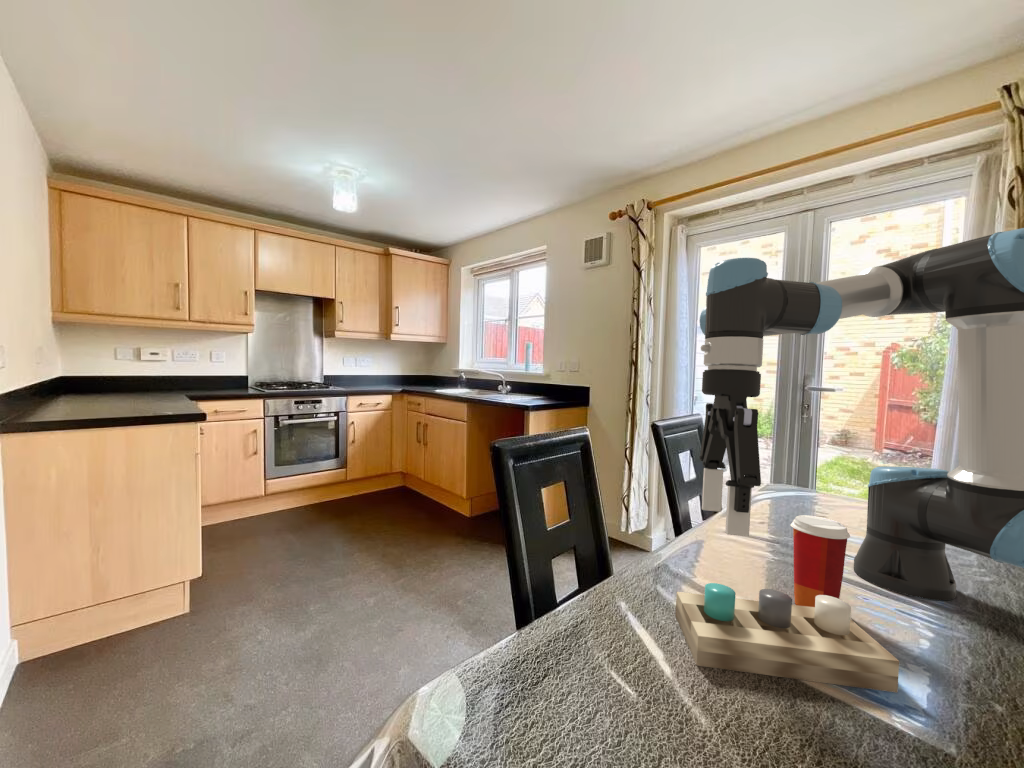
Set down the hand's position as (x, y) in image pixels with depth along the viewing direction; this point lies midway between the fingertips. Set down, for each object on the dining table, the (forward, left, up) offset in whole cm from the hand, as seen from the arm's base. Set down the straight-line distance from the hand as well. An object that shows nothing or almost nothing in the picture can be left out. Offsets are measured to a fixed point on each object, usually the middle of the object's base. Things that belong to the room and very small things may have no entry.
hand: (723, 521), depth 62 cm
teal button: (0, 0, -13) cm, 13 cm away
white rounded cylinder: (-15, 0, -13) cm, 20 cm away
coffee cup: (-21, -14, -18) cm, 31 cm away
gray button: (-8, 0, -13) cm, 15 cm away
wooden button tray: (-8, 0, -18) cm, 19 cm away
